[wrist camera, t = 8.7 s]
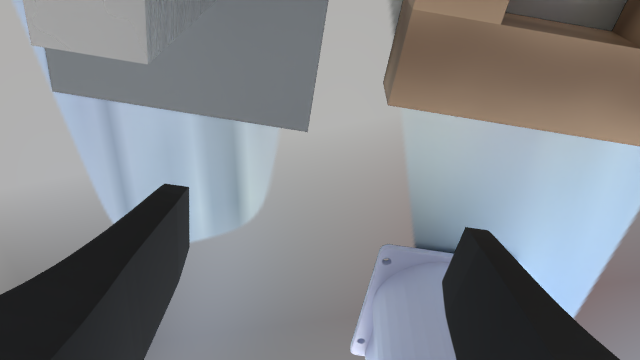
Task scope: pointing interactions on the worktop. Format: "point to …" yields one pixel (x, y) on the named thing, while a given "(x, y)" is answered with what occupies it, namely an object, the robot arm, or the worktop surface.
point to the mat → (216, 65)
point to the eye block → (518, 68)
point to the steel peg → (111, 25)
